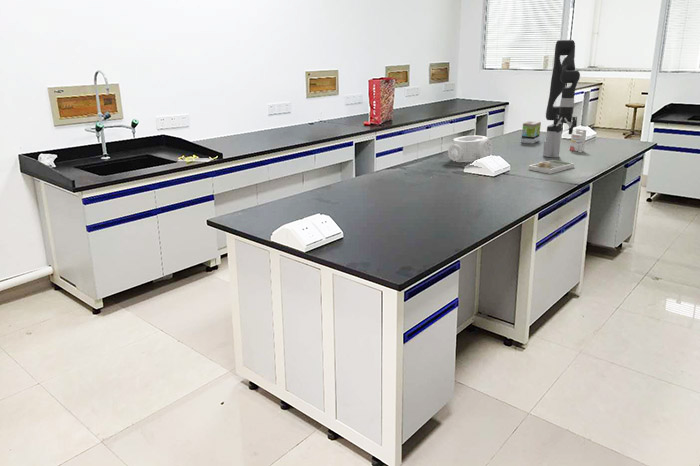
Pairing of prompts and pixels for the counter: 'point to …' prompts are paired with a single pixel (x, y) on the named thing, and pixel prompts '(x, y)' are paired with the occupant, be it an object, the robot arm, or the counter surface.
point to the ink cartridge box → (578, 141)
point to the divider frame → (552, 166)
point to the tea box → (530, 132)
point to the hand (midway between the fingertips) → (563, 133)
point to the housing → (470, 148)
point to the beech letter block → (544, 164)
